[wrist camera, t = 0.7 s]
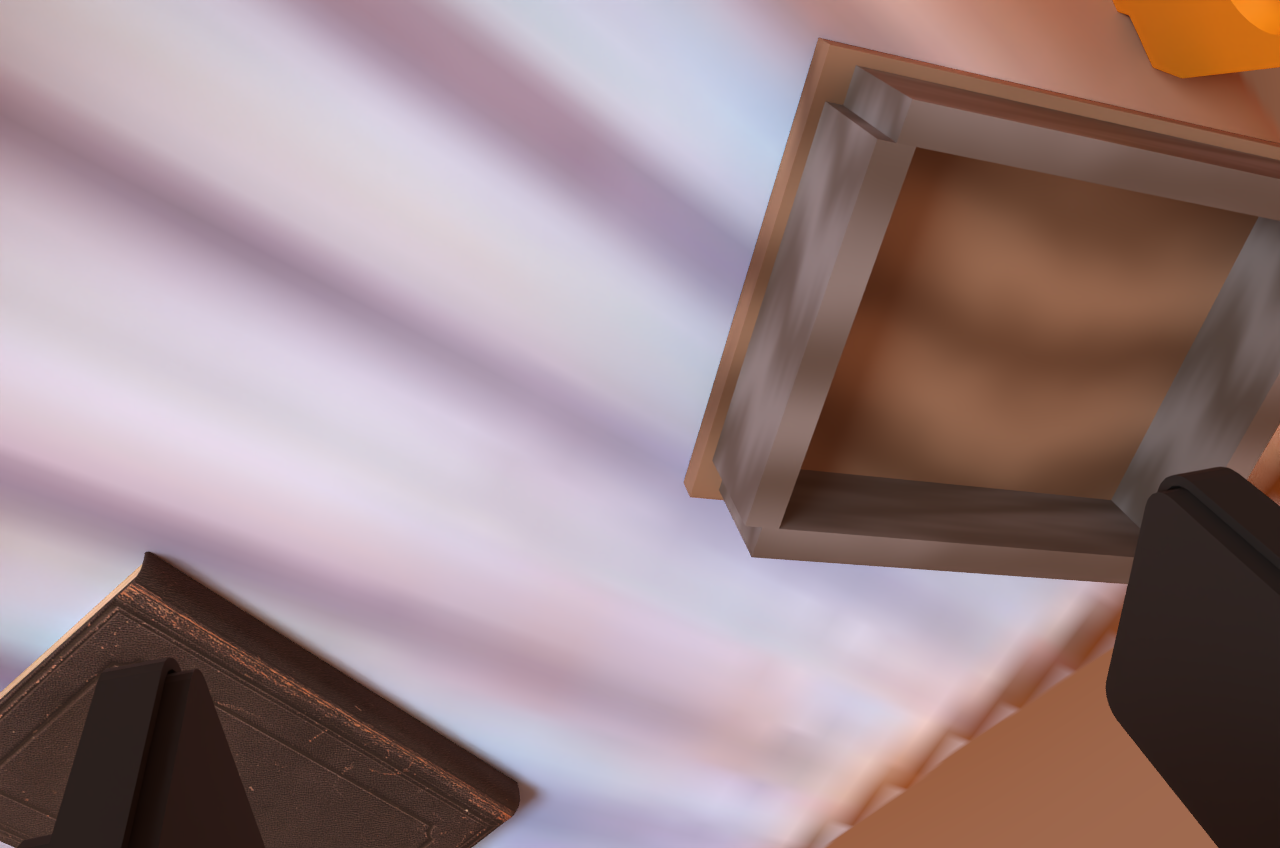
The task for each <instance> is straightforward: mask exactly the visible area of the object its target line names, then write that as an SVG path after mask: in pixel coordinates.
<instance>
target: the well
mask: <svg viewBox="0 0 1280 848" xmlns="http://www.w3.org/2000/svg"><path fill="white" fill-rule="evenodd" d="M1279 424H1280V144H1278V143H1274V142H1269V141H1265V140H1261V139H1256V138H1252V137H1248V136H1243V135H1239V134H1235V133H1230V132H1226V131H1222V130H1217V129H1213V128H1208V127H1204V126H1200V125H1195V124H1191V123H1187V122H1182V121H1178V120H1174V119H1169V118H1165V117H1161V116H1156V115H1152V114H1148V113H1143V112H1139V111H1135V110H1130V109H1126V108H1122V107H1117V106H1113V105H1109V104H1104V103H1100V102H1095V101H1091V100H1087V99H1082V98H1078V97H1074V96H1069V95H1065V94H1061V93H1056V92H1052V91H1048V90H1043V89H1039V88H1035V87H1030V86H1026V85H1022V84H1017V83H1013V82H1009V81H1004V80H1000V79H995V78H991V77H987V76H982V75H978V74H974V73H969V72H965V71H961V70H956V69H952V68H948V67H943V66H939V65H935V64H930V63H926V62H922V61H917V60H913V59H909V58H904V57H900V56H896V55H891V54H887V53H882V52H878V51H874V50H869V49H865V48H861V47H856V46H852V45H848V44H843V43H839V42H835V41H830V40H826V39H822V38H818V42H817V45H816V48H815V52H814V55H813V58H812V61H811V65H810V68H809V71H808V75H807V78H806V81H805V84H804V88H803V91H802V94H801V98H800V101H799V104H798V108H797V111H796V114H795V117H794V121H793V124H792V127H791V131H790V134H789V137H788V140H787V144H786V147H785V150H784V154H783V157H782V160H781V164H780V167H779V170H778V173H777V177H776V180H775V183H774V187H773V190H772V193H771V196H770V200H769V203H768V206H767V210H766V213H765V216H764V220H763V223H762V226H761V229H760V233H759V236H758V239H757V243H756V246H755V249H754V252H753V256H752V259H751V262H750V266H749V269H748V272H747V275H746V279H745V282H744V285H743V289H742V292H741V295H740V299H739V302H738V305H737V308H736V312H735V315H734V318H733V322H732V325H731V328H730V331H729V335H728V338H727V341H726V345H725V348H724V351H723V355H722V358H721V361H720V364H719V368H718V371H717V374H716V378H715V381H714V384H713V387H712V391H711V394H710V397H709V401H708V404H707V407H706V410H705V414H704V417H703V420H702V424H701V427H700V430H699V434H698V437H697V440H696V443H695V447H694V450H693V453H692V457H691V460H690V463H689V466H688V470H687V473H686V476H685V480H684V484H685V487H686V489H687V491H688V493H689V496H690V497H695V498H706V499H718V500H724V502H725V504H726V506H727V508H728V510H729V512H730V514H731V516H732V518H733V520H734V522H735V524H736V526H737V528H738V530H739V532H740V534H741V536H742V538H743V540H744V542H745V544H746V546H747V548H748V550H749V553H750V555H751V557H757V558H771V559H785V560H799V561H813V562H827V563H841V564H855V565H869V566H883V567H897V568H911V569H925V570H939V571H953V572H967V573H980V574H994V575H1008V576H1022V577H1036V578H1050V579H1064V580H1078V581H1092V582H1106V583H1120V584H1128V582H1129V577H1130V573H1131V568H1132V564H1133V559H1134V555H1135V550H1136V546H1137V541H1138V537H1139V533H1140V528H1141V524H1142V519H1143V515H1144V510H1145V506H1146V503H1147V500H1148V498H1149V497H1150V496H1151V495H1152V494H1154V493H1157V491H1158V488H1159V486H1160V484H1161V483H1162V481H1163V480H1164V479H1165V478H1166V477H1169V476H1172V475H1176V474H1181V473H1187V472H1192V471H1198V470H1203V469H1209V468H1214V467H1227V468H1230V469H1232V470H1234V471H1236V472H1237V473H1239V474H1240V475H1241V476H1242V477H1244V478H1245V479H1246V480H1247V479H1248V477H1249V475H1250V474H1251V472H1252V470H1253V469H1254V467H1255V465H1256V463H1257V462H1258V460H1259V458H1260V457H1261V455H1262V453H1263V451H1264V450H1265V448H1266V446H1267V445H1268V443H1269V441H1270V439H1271V438H1272V436H1273V434H1274V433H1275V431H1276V429H1277V427H1278V426H1279Z"/></svg>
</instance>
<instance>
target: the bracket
mask: <svg viewBox="0 0 1280 848" xmlns="http://www.w3.org/2000/svg"><path fill="white" fill-rule="evenodd" d="M1113 2H1114V5H1115V7H1116V9H1117V11H1118V12H1120V13H1123V14H1127V15H1129V16H1130V18H1131V20H1132V23H1133V25H1134V27H1135V29H1136V31H1137V34H1138V36H1139V38H1140V40H1141V42H1142V45H1143V47H1144V49H1145V51H1146V53H1147V56H1148V58H1149V60H1150V62H1151V64H1152V67H1153V68H1156V69H1158V70H1161V71H1164V72H1166V73H1169V74H1172V75H1174V76H1177V77H1180V78H1190V77H1199V76H1207V75H1216V74H1224V73H1233V72H1242V71H1250V70H1258V69H1267V68H1276V67H1280V0H1113Z"/></svg>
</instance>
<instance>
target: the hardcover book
mask: <svg viewBox="0 0 1280 848" xmlns="http://www.w3.org/2000/svg"><path fill="white" fill-rule="evenodd" d="M167 657H171V658H174V659H175V660H176V661H177V663H178V664H179V666H180V668H181V671H187V670H192V669H199V670H200V671H201V672H202V674H203V676H204V678H205V681H206V683H207V686H208V689H209V692H210V695H211V697H212V700H213V703H214V706H215V708H216V711H217V714H218V717H219V720H220V722H221V725H222V728H223V731H224V734H225V736H226V739H227V742H228V745H229V748H230V750H231V753H232V756H233V759H234V761H235V764H236V767H237V770H238V773H239V775H240V778H241V781H242V784H243V787H244V789H245V792H246V795H247V798H248V801H249V803H250V806H251V809H252V812H253V814H254V817H255V820H256V823H257V826H258V828H259V831H260V834H261V837H262V840H263V842H264V845H265V848H471V847H473V846H474V845H475V844H477V843H478V842H479V841H481V840H482V839H483V838H485V837H486V836H487V835H488V834H490V833H491V832H492V831H494V830H495V829H496V828H498V827H499V826H500V825H501V824H503V823H504V822H505V821H507V820H508V819H509V818H511V817H512V816H513V815H514V813H515V812H516V810H517V808H518V806H519V802H520V795H519V788H518V784H517V782H515V781H514V780H512V779H510V778H509V777H507V776H506V775H504V774H502V773H501V772H499V771H498V770H496V769H495V768H493V767H491V766H490V765H488V764H487V763H485V762H483V761H482V760H480V759H479V758H477V757H475V756H474V755H472V754H471V753H469V752H467V751H466V750H464V749H463V748H461V747H459V746H458V745H456V744H455V743H453V742H452V741H450V740H448V739H447V738H445V737H444V736H442V735H440V734H439V733H437V732H436V731H434V730H432V729H431V728H429V727H428V726H426V725H424V724H423V723H421V722H420V721H418V720H416V719H415V718H413V717H412V716H410V715H408V714H407V713H405V712H404V711H402V710H401V709H399V708H397V707H396V706H394V705H393V704H391V703H389V702H388V701H386V700H385V699H383V698H381V697H380V696H378V695H377V694H375V693H373V692H372V691H370V690H369V689H367V688H365V687H364V686H362V685H361V684H359V683H357V682H356V681H354V680H353V679H351V678H350V677H348V676H346V675H345V674H343V673H342V672H340V671H338V670H337V669H335V668H334V667H332V666H330V665H329V664H327V663H326V662H324V661H322V660H321V659H319V658H318V657H316V656H314V655H313V654H311V653H310V652H308V651H307V650H305V649H303V648H302V647H300V646H299V645H297V644H295V643H294V642H292V641H291V640H289V639H287V638H286V637H284V636H283V635H281V634H279V633H278V632H276V631H275V630H273V629H271V628H270V627H268V626H267V625H265V624H263V623H262V622H260V621H259V620H257V619H256V618H254V617H252V616H251V615H249V614H248V613H246V612H244V611H243V610H241V609H240V608H238V607H236V606H235V605H233V604H232V603H230V602H228V601H227V600H225V599H224V598H222V597H220V596H219V595H217V594H216V593H214V592H212V591H211V590H209V589H208V588H206V587H205V586H203V585H201V584H200V583H198V582H197V581H195V580H193V579H192V578H190V577H189V576H187V575H185V574H184V573H182V572H181V571H179V570H177V569H176V568H174V567H173V566H171V565H169V564H168V563H166V562H165V561H163V560H162V559H160V558H158V557H157V556H155V555H154V554H152V553H150V552H146V553H145V556H144V561H143V564H142V565H141V566H140V567H138V568H137V569H136V570H135V571H134V572H133V573H132V574H131V575H130V576H128V577H127V578H126V579H125V580H124V581H123V582H122V583H121V584H120V585H119V586H117V587H116V588H115V589H114V590H113V591H112V592H111V593H110V594H109V595H108V596H106V597H105V598H104V599H103V600H102V601H101V602H100V603H99V604H98V605H96V606H95V607H94V608H93V609H92V610H91V611H90V612H89V613H88V614H87V615H85V616H84V617H83V618H82V619H81V620H80V621H79V622H78V623H77V624H76V625H74V626H73V627H72V628H71V629H70V630H69V631H68V632H67V633H66V634H65V635H63V636H62V637H61V638H60V639H59V640H58V641H57V642H56V643H55V644H53V645H52V646H51V647H50V648H49V649H48V650H47V651H46V652H45V653H44V654H42V655H41V656H40V657H39V658H38V659H37V660H36V661H35V662H34V663H33V664H31V665H30V666H29V667H28V668H27V669H26V670H25V671H24V672H23V673H22V674H20V675H19V676H18V677H17V678H16V679H15V680H14V681H13V682H12V683H10V684H9V685H8V686H7V687H6V688H5V689H4V690H3V691H2V692H1V693H0V841H1V842H3V843H6V844H8V845H10V846H13V847H15V848H17V847H18V846H19V845H20V844H21V842H22V841H23V840H26V839H30V838H34V837H39V836H44V835H49V834H52V832H53V829H54V826H55V822H56V819H57V815H58V812H59V809H60V805H61V802H62V799H63V795H64V792H65V789H66V785H67V782H68V778H69V775H70V772H71V768H72V765H73V762H74V758H75V755H76V752H77V748H78V745H79V741H80V738H81V735H82V731H83V728H84V725H85V721H86V718H87V715H88V711H89V708H90V704H91V701H92V698H93V694H94V691H95V688H96V684H97V681H98V679H99V677H100V674H101V673H102V672H103V671H104V670H105V669H107V668H112V667H118V666H123V665H129V664H134V663H140V662H145V661H151V660H156V659H162V658H167Z"/></svg>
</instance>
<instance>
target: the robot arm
mask: <svg viewBox="0 0 1280 848" xmlns="http://www.w3.org/2000/svg"><path fill="white" fill-rule="evenodd" d="M1106 695H1107V699H1108V703H1109V706H1110V708H1111V710H1112V713H1113V714H1114V716H1115V718H1116V719H1117V721H1118V722H1119V723H1120V724H1121V726H1122V727H1123V728H1124V729H1125V731H1126V732H1127V733H1128V734H1129V736H1130V737H1131V738H1132V739H1133V741H1134V742H1135V743H1136V744H1137V746H1138V747H1139V748H1140V750H1141V751H1142V752H1143V753H1144V754H1145V756H1146V757H1147V758H1148V760H1149V761H1150V762H1151V763H1152V765H1153V766H1154V767H1155V768H1156V770H1157V771H1158V772H1159V773H1160V775H1161V776H1162V777H1163V778H1164V780H1165V781H1166V782H1167V784H1168V785H1169V786H1170V787H1171V788H1172V790H1173V791H1174V792H1175V794H1176V795H1177V796H1178V797H1179V798H1180V800H1181V801H1182V802H1183V804H1184V805H1185V806H1186V807H1187V808H1188V810H1189V811H1190V812H1191V814H1192V815H1193V816H1194V817H1195V819H1196V820H1197V821H1198V823H1199V824H1200V825H1201V826H1202V827H1203V829H1204V830H1205V831H1206V833H1207V834H1208V835H1209V836H1210V838H1211V839H1212V840H1213V841H1214V843H1215V844H1216V845H1217V846H1218V848H1280V506H1279V505H1277V504H1276V503H1275V502H1274V501H1272V500H1271V499H1270V498H1269V497H1267V496H1266V495H1265V494H1264V493H1262V492H1261V491H1260V490H1259V489H1257V488H1256V487H1255V486H1254V485H1252V484H1251V483H1250V482H1249V481H1247V480H1246V479H1245V478H1244V477H1242V476H1241V475H1240V474H1239V473H1237V472H1236V471H1234V470H1232V469H1230V468H1227V467H1214V468H1209V469H1203V470H1198V471H1192V472H1187V473H1181V474H1176V475H1172V476H1169V477H1166V478H1165V479H1164V480H1163V481H1162V483H1161V484H1160V486H1159V488H1158V491H1157V493H1154V494H1152V495H1151V496H1150V497H1149V498H1148V500H1147V503H1146V506H1145V510H1144V515H1143V519H1142V524H1141V528H1140V533H1139V537H1138V541H1137V546H1136V550H1135V555H1134V559H1133V564H1132V568H1131V573H1130V577H1129V582H1128V586H1127V591H1126V595H1125V600H1124V604H1123V609H1122V613H1121V618H1120V622H1119V627H1118V631H1117V636H1116V640H1115V645H1114V649H1113V654H1112V658H1111V663H1110V667H1109V671H1108V676H1107V681H1106ZM17 848H265V845H264V842H263V840H262V837H261V834H260V831H259V828H258V826H257V823H256V820H255V817H254V814H253V812H252V809H251V806H250V803H249V801H248V798H247V795H246V792H245V789H244V787H243V784H242V781H241V778H240V775H239V773H238V770H237V767H236V764H235V761H234V759H233V756H232V753H231V750H230V748H229V745H228V742H227V739H226V736H225V734H224V731H223V728H222V725H221V722H220V720H219V717H218V714H217V711H216V708H215V706H214V703H213V700H212V697H211V695H210V692H209V689H208V686H207V683H206V681H205V678H204V676H203V674H202V672H201V671H200V670H199V669H192V670H187V671H181V668H180V666H179V664H178V663H177V661H176V660H175V659H174V658H171V657H167V658H162V659H156V660H151V661H145V662H140V663H134V664H129V665H123V666H118V667H112V668H107V669H105V670H104V671H103V672H102V673H101V674H100V677H99V679H98V681H97V684H96V688H95V691H94V694H93V698H92V701H91V704H90V708H89V711H88V715H87V718H86V721H85V725H84V728H83V731H82V735H81V738H80V741H79V745H78V748H77V752H76V755H75V758H74V762H73V765H72V768H71V772H70V775H69V778H68V782H67V785H66V789H65V792H64V795H63V799H62V802H61V805H60V809H59V812H58V815H57V819H56V822H55V826H54V829H53V832H52V834H49V835H44V836H39V837H34V838H30V839H26V840H23V841H22V842H21V844H20V845H19V846H18V847H17Z"/></svg>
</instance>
